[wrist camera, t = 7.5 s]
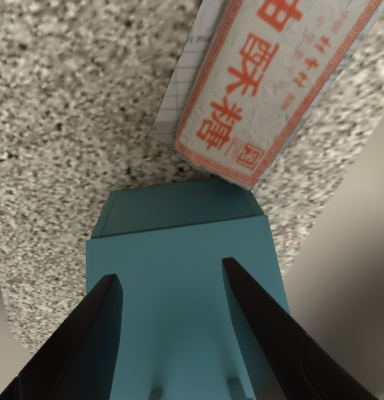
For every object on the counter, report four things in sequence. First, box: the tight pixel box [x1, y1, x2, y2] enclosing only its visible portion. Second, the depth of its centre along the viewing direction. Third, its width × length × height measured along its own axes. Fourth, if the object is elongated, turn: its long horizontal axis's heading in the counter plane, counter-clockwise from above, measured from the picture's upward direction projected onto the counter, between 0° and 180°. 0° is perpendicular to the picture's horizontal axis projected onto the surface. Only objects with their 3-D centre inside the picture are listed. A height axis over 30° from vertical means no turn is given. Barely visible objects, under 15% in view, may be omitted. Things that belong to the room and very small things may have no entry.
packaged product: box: [148, 0, 384, 191], centre depth 14 cm, size 18×5×10 cm
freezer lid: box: [86, 215, 290, 400], centre depth 12 cm, size 13×11×5 cm
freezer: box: [91, 177, 264, 239], centre depth 22 cm, size 12×11×6 cm
